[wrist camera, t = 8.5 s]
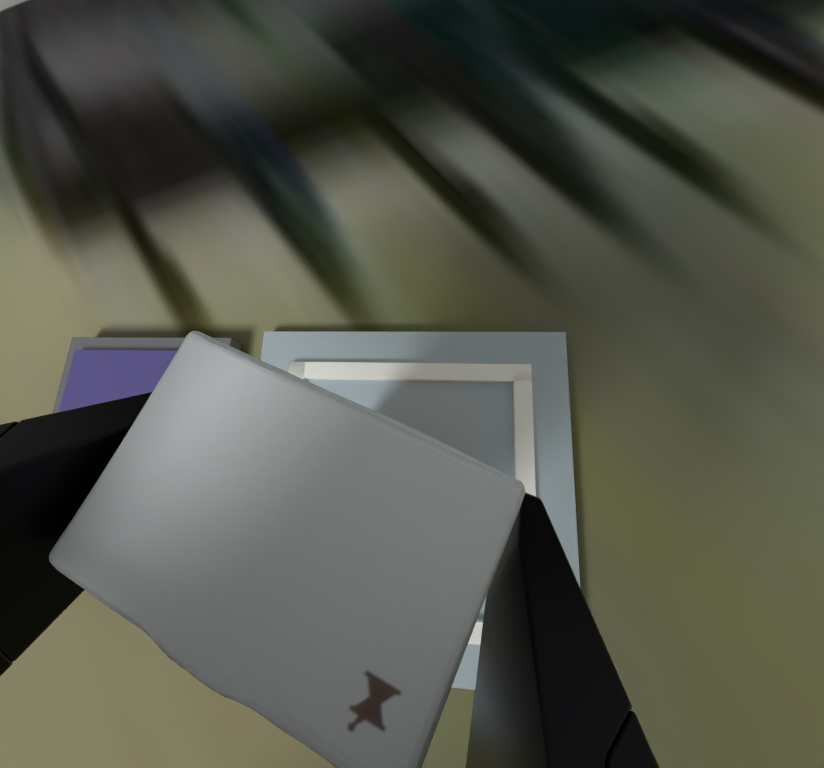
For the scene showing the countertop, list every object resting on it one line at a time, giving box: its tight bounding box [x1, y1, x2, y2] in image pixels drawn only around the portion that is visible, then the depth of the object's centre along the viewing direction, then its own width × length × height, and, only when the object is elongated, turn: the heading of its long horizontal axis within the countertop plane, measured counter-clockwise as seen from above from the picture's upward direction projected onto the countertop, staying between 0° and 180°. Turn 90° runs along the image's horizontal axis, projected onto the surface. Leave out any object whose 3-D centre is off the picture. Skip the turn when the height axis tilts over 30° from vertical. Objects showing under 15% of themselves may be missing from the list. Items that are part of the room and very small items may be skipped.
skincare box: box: [49, 331, 525, 768], centre depth 11 cm, size 6×4×12 cm
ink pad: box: [52, 337, 242, 414], centre depth 18 cm, size 12×9×1 cm
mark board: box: [261, 332, 580, 690], centre depth 17 cm, size 15×15×1 cm
